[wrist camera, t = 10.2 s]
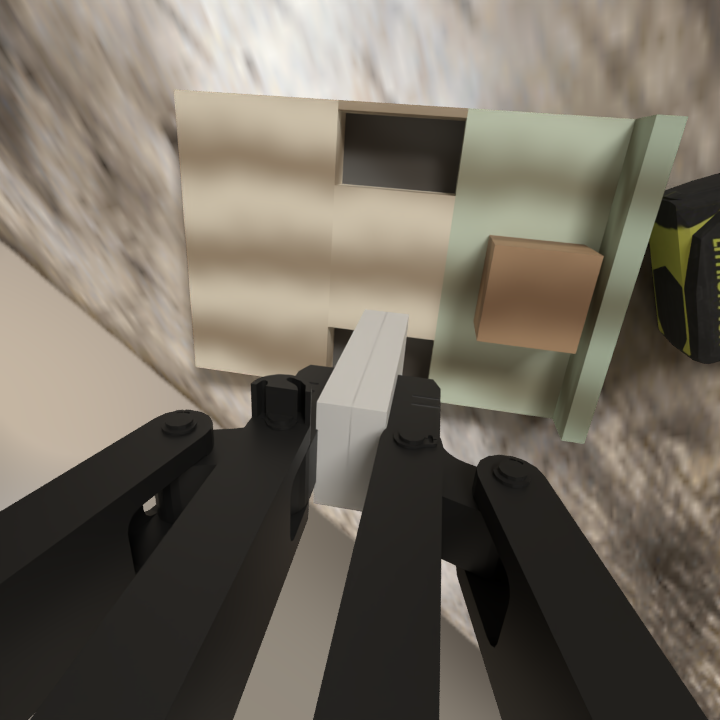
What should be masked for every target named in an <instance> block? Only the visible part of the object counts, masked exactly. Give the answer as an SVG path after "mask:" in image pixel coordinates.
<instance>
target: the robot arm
mask: <svg viewBox="0 0 720 720" xmlns="http://www.w3.org/2000/svg"><path fill="white" fill-rule="evenodd" d="M408 320H409V314H402V313H393V312H384V311H376V310H367V309H365V310H364V312H363V314H362V316H361V318H360V320H359V322H358V324H357V326H356V328H355V330H354V332H353V333H352V335H351V337H350V339H349V341H348V343H347V345H346V347H345V349H344V351H343V353H342V355H341V357H340V358H339V360H338V362H337V364H336V366H335V368H333V367H325V366H318V365H309V366H307V367H305V368H303V369H302V370H300V371H298V373H297V374H296V376H294V375H288V374H275V375H268V376H264V377H261V378H259V379H257V380H255V381H254V382H253V383H251V402H252V418H251V419H250V420H249V422H248V423H247V424H246V426H245V427H244V428H236V429H218V430H213V422H212V420H211V418H210V417H209V416H208V415H206V414H204V413H202V412H199V411H193V410H177V411H174V412H169V413H165V414H163V415H161V416H159V417H157V418H155V419H153V420H151V421H150V422H148V423H146V424H145V425H143V426H141V427H140V428H138V429H137V430H135V431H133V432H131V433H130V434H128V435H126V436H125V437H124V438H121V439H120V440H118V441H116V442H115V443H113V444H112V445H110V446H108V447H106V448H105V449H103V450H102V451H100V452H98V453H97V454H95V455H93V456H92V457H90V458H88V459H87V460H85V461H83V462H82V463H80V464H78V465H77V466H75V467H73V468H72V469H70V470H68V471H67V472H65V473H63V474H62V475H60V476H58V477H57V478H55V479H53V480H52V481H50V482H49V483H47V484H45V485H44V486H42V487H40V488H39V489H37V490H35V491H34V492H32V493H30V494H29V495H27V496H25V497H24V498H22V499H20V500H19V501H17V502H15V503H14V504H12V505H10V506H9V507H7V508H5V509H4V510H2V511H0V720H28V719H29V718H30V717H31V716H32V715H33V714H34V713H35V714H34V715H33V717H32V718H31V719H30V720H233V718H234V715H235V713H236V710H237V707H238V704H239V701H240V699H241V696H242V694H243V691H244V689H245V686H246V683H247V680H248V678H249V675H250V672H251V670H252V667H253V664H254V662H255V659H256V656H257V653H258V651H259V648H260V646H261V643H262V640H263V638H264V635H265V632H266V630H267V627H268V624H269V621H270V619H271V616H272V614H273V611H274V608H275V606H276V603H277V600H278V597H279V595H280V592H281V589H282V587H283V584H284V581H285V579H286V576H287V573H288V571H289V568H290V565H291V563H292V560H293V557H294V555H295V552H296V549H297V546H298V544H299V541H300V539H301V536H302V533H303V531H304V528H305V525H306V522H307V520H308V510H309V498H310V496H311V493H312V491H313V488H314V503H316V504H321V505H327V506H333V507H339V508H345V509H351V510H357V511H362V515H361V519H360V524H359V528H358V532H357V536H356V540H355V545H354V549H353V553H352V558H351V562H350V566H349V570H348V574H347V578H346V583H345V587H344V591H343V596H342V600H341V604H340V608H339V613H338V617H337V621H336V625H335V629H334V634H333V638H332V642H331V646H330V650H329V655H328V659H327V663H326V667H325V671H324V676H323V680H322V684H321V688H320V693H319V697H318V701H317V706H316V710H315V714H314V718H313V720H439V692H440V691H439V689H440V615H441V559H443V560H445V561H447V562H449V563H452V564H454V565H456V570H457V577H458V580H459V583H460V587H461V590H462V593H463V596H464V599H465V603H466V606H467V609H468V612H469V616H470V619H471V622H472V625H473V628H474V632H475V635H476V638H477V641H478V644H479V648H480V651H481V654H482V657H483V660H484V664H485V667H486V670H487V673H488V676H489V680H490V683H491V686H492V689H493V693H494V696H495V699H496V702H497V705H498V709H499V712H500V715H501V718H502V720H708V719H707V717H706V716H705V714H704V713H703V711H702V710H701V708H700V707H699V705H698V704H697V703H696V701H695V700H694V698H693V697H692V695H691V694H690V692H689V691H688V689H687V688H686V686H685V685H684V683H683V682H682V680H681V679H680V677H679V676H678V674H677V673H676V671H675V670H674V668H673V667H672V665H671V664H670V662H669V661H668V659H667V658H666V656H665V655H664V653H663V652H662V650H661V649H660V647H659V646H658V644H657V643H656V641H655V640H654V638H653V637H652V635H651V634H650V632H649V631H648V629H647V628H646V626H645V625H644V623H643V622H642V621H641V619H640V618H639V616H638V615H637V613H636V612H635V610H634V609H633V607H632V606H631V604H630V603H629V601H628V600H627V598H626V597H625V595H624V594H623V592H622V591H621V589H620V588H619V586H618V585H617V583H616V582H615V580H614V579H613V577H612V576H611V574H610V573H609V571H608V570H607V568H606V567H605V565H604V564H603V562H602V561H601V559H600V558H599V556H598V555H597V553H596V552H595V550H594V549H593V547H592V546H591V544H590V543H589V541H588V540H587V538H586V537H585V536H584V534H583V533H582V531H581V530H580V528H579V527H578V525H577V524H576V522H575V521H574V519H573V518H572V516H571V515H570V513H569V512H568V510H567V509H566V507H565V506H564V504H563V503H562V501H561V500H560V498H559V497H558V495H557V494H556V492H555V491H554V489H553V488H552V486H551V485H550V483H549V482H548V480H547V479H546V477H545V476H544V475H543V474H542V473H541V472H540V471H539V470H538V469H537V468H536V467H535V466H533V465H531V464H530V463H528V462H526V461H524V460H522V459H519V458H516V457H513V456H505V455H494V456H488V457H486V458H484V459H482V460H480V462H479V464H478V465H477V467H476V466H473V465H470V464H468V463H465V462H463V461H461V460H458V459H456V458H455V457H453V456H452V455H450V454H449V453H448V452H447V451H446V450H445V449H444V448H443V444H442V441H441V438H440V399H441V389H440V387H439V386H438V385H437V383H436V382H435V381H434V380H433V379H426V378H419V377H411V376H403V375H402V372H403V364H404V355H405V346H406V338H407V329H408ZM153 496H155V498H156V505H155V506H154V507H153V508H151V509H150V510H148V511H146V512H144V510H143V504H144V503H146V502H147V501H148V500H149V499H151V498H152V497H153Z"/></svg>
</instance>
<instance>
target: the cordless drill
mask: <svg viewBox="0 0 720 720" xmlns="http://www.w3.org/2000/svg"><path fill="white" fill-rule="evenodd" d="M649 243H650V252H651V262H652V272H653V281H654V291H655V301H656V310H657V319H658V327H659V330H660V331H661V333H662V334H663V335H664V336H665V337H666V338H667V339H668V340H669V342H670V343H671V344H672V345H673V346H675V347H676V348H678V349H679V350H680V351H682V352H683V353H684V354H686V355H687V356H688V357H690V358H691V359H692V360H695V361H698V362H701V363H704V364H711V363H714V362H718V361H720V173H718V174H715V175H711V176H708V177H704V178H701V179H697V180H694V181H691V182H688V183H685V184H682V185H679V186H676V187H674V188H671V189H668V190H665V191H664V194H663V197H662V200H661V204H660V207H659V210H658V213H657V216H656V219H655V222H654V226H653V229H652V232H651V235H650V238H649Z"/></svg>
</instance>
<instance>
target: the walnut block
mask: <svg viewBox="0 0 720 720" xmlns="http://www.w3.org/2000/svg"><path fill="white" fill-rule="evenodd" d="M603 257H604V256H603V255H601V254H599V253H598V252H596V251H594V250H593V249H591V248H589V247H588V246H586V245H584V244H574V243H564V242H554V241H545V240H535V239H525V238H515V237H506V236H496V235H489V240H488V245H487V251H486V256H485V262H484V267H483V272H482V278H481V283H480V289H479V294H478V299H477V305H476V310H475V316H474V328H475V334H476V340H477V341H481V342H488V343H496V344H503V345H511V346H519V347H526V348H534V349H542V350H549V351H557V352H564V353H572V354H576V351H577V347H578V344H579V341H580V337H581V334H582V330H583V327H584V323H585V320H586V316H587V313H588V309H589V306H590V302H591V299H592V295H593V292H594V289H595V285H596V282H597V278H598V275H599V271H600V268H601V264H602V261H603Z"/></svg>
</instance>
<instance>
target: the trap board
mask: <svg viewBox="0 0 720 720" xmlns="http://www.w3.org/2000/svg"><path fill="white" fill-rule="evenodd" d="M174 97H175V110H176V123H177V135H178V148H179V161H180V174H181V186H182V199H183V212H184V224H185V237H186V250H187V263H188V275H189V288H190V301H191V314H192V326H193V339H194V352H195V365H196V367H199V368H206V369H213V370H220V371H227V372H234V373H241V374H248V375H255V376H261V377H264V376H268V375H275V374H288V375H294V376H296V374H297V373H298V371H300V370H302V369H303V368H305V367H307V366H309V365H318V366H325V367H333V368H335V366H336V364H337V362H338V360H339V358H340V357H341V355H342V353H343V351H344V349H345V347H346V345H347V343H348V341H349V339H350V337H351V335H352V333H353V332H354V330H355V328H356V326H357V324H358V322H359V320H360V318H361V316H362V314H363V312H364V310H365V309H367V310H376V311H384V312H393V313H402V314H409V320H408V329H407V338H406V346H405V355H404V364H403V372H402V375H403V376H411V377H419V378H426V379H433V380H434V381H435V382H436V383H437V385H438V386H439V387H440V389H441V399H440V402H441V403H448V404H455V405H462V406H469V407H476V408H483V409H490V410H497V411H503V412H510V413H517V414H524V415H531V416H538V417H545V418H552V419H553V421H554V423H555V426H556V428H557V431H558V433H559V436H560V438H561V440H562V441H569V442H575V443H582V444H584V443H585V440H586V436H587V433H588V430H589V427H590V424H591V421H592V418H593V414H594V411H595V408H596V405H597V402H598V399H599V396H600V392H601V389H602V386H603V383H604V380H605V377H606V374H607V370H608V367H609V364H610V361H611V358H612V355H613V351H614V348H615V345H616V342H617V339H618V336H619V333H620V329H621V326H622V323H623V320H624V317H625V314H626V311H627V307H628V304H629V301H630V298H631V295H632V292H633V289H634V285H635V282H636V279H637V276H638V273H639V270H640V267H641V263H642V260H643V257H644V254H645V251H646V248H647V245H648V241H649V238H650V235H651V232H652V229H653V226H654V222H655V219H656V216H657V213H658V210H659V207H660V204H661V200H662V197H663V194H664V191H665V188H666V185H667V182H668V178H669V175H670V172H671V169H672V166H673V163H674V160H675V156H676V153H677V150H678V147H679V144H680V141H681V138H682V134H683V131H684V128H685V125H686V122H687V119H688V116H672V115H653V116H648V117H644V118H639V119H624V118H609V117H593V116H578V115H562V114H546V113H531V112H515V111H500V110H484V109H469V108H453V107H437V106H422V105H406V104H391V103H375V102H359V101H344V100H328V99H313V98H297V97H281V96H266V95H250V94H235V93H219V92H204V91H188V90H174ZM489 235H496V236H506V237H515V238H525V239H535V240H545V241H554V242H564V243H574V244H584V245H586V246H588V247H589V248H591V249H593V250H594V251H596V252H598V253H599V254H601V255H603V256H604V257H603V261H602V264H601V268H600V271H599V275H598V278H597V282H596V285H595V289H594V292H593V295H592V299H591V302H590V306H589V309H588V313H587V316H586V320H585V323H584V327H583V330H582V334H581V337H580V341H579V344H578V347H577V351H576V354H572V353H564V352H557V351H549V350H542V349H534V348H526V347H519V346H511V345H503V344H496V343H488V342H481V341H477V340H476V334H475V328H474V316H475V310H476V305H477V299H478V294H479V289H480V283H481V278H482V272H483V267H484V262H485V256H486V251H487V245H488V240H489Z"/></svg>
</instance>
